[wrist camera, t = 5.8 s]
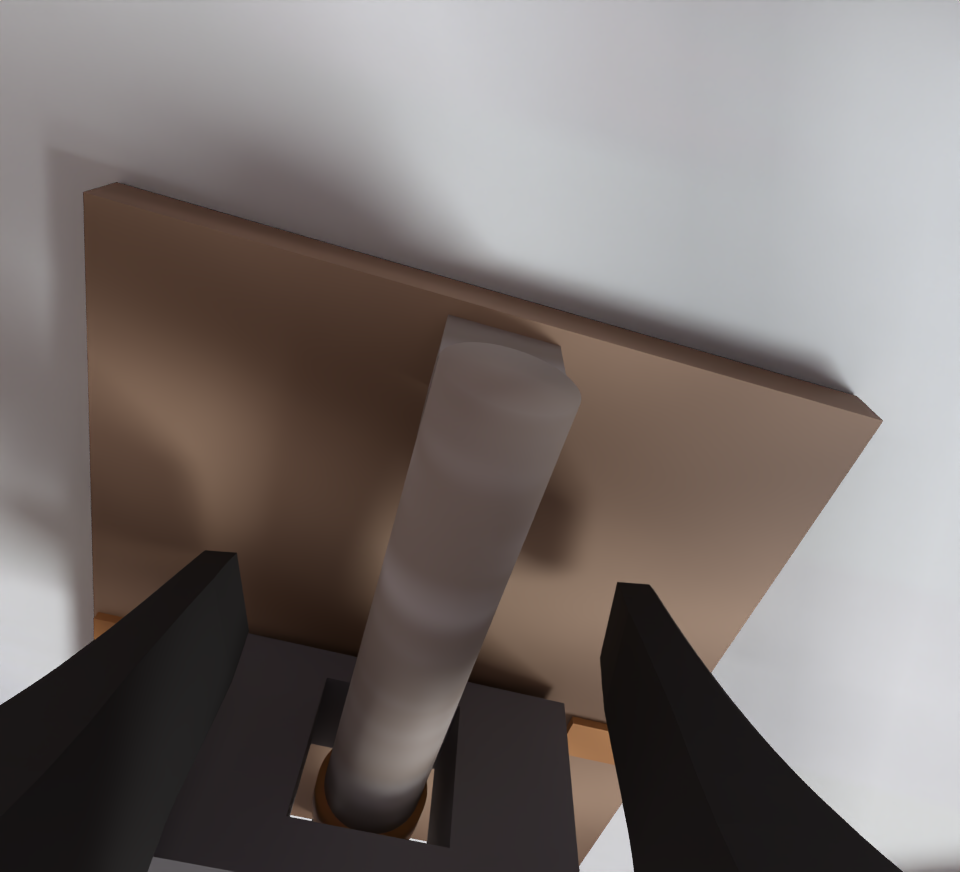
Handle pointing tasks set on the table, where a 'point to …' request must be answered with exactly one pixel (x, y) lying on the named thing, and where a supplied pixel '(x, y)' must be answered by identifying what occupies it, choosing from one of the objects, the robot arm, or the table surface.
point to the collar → (315, 720)
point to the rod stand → (427, 480)
